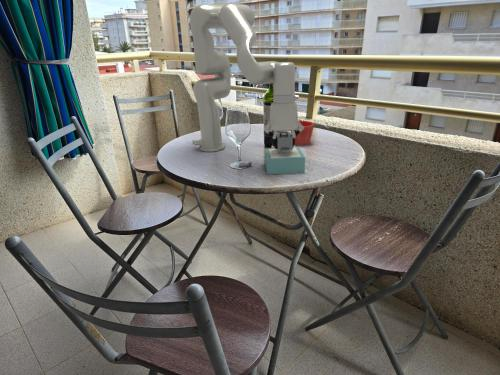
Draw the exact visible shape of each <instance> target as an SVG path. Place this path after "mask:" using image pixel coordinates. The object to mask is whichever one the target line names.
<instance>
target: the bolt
mask: <svg viewBox="0 0 500 375" xmlns="http://www.w3.org/2000/svg"><path fill="white" fill-rule="evenodd" d="M238 162H239V161H238ZM252 163H253V162H252V161H242V162H239V163H238V165H239V168H247V167H248V168H250V167H251V168H252V166H253V164H252Z"/></svg>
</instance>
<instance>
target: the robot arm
mask: <svg viewBox="0 0 500 375" xmlns="http://www.w3.org/2000/svg"><path fill="white" fill-rule="evenodd" d="M255 18H256V15H255V13H254V10H253V9H252V8H251V7H250V6H249V5H247V4H243V3H242V4H241V3H226V4H213V3H202V4H197V5H196V6H194V7H193V9H191V11H190V16H189V27H190V28H189V29H190V31H191V34H192V39H193V40H192V41H193V54H194V64H195V65H194V66H195V71H196V72H197V74H198V75H201V76H213V75H214V76H213V77H207V78H200V79H198V80H197V81H195V83H194V85H193V95H194V97H195V100H196V105H197V111H198V119H199V120H198V121H199V130H200V137H201V138H200V139H196V140H193V139H192V145H194V146H198V149H199V151H201V152H206V153H208V152H209V153H210V152H211V153H212V152H213V153H214V152H219V151H223V150H224V149H225V148H226V144H225V143H224V142H223V141H222V140H223V139H222V138H223V137H222V127H221V117H220V116H221V114H220V108H219V106H218V104H217V102H216V100H220V99H224V98H225V99H226V98H227V97H228V96H229V95H230V93H231V88H232V86H231V84H232V82H231V80H232V79H231V78H232V77H231V62H230V58H229V57H228V56H229V55H227V53H226V52H224V51H222V50H215V40H214V37H213V34H212V33H211V31H210V30H211V29H212V30H213V29H216V30H217V29H220V30H221V29H224V30H225V32H226V33H227V35H228V36H229V38H230V40H232V42H233V44H234V46H236V62H237V66H238V68H239V70H240V72H241V73H242V74H243V76H244V78H245V79H246V81H248V83H250V84H251V85H252V86H253V85H254V86H260V85H266V84H272V87H273V89H272V91H273V95H272V96H273V99H272V100H273V102H271V104H270V109H269V110H270V111H269V122H268V123H267V124H266V125H265V127H264V128H263V132H265V133H266V134H268V136H269V137H270V138H272V144H273V147H275V149H277V137H276V136H277V133H278V132H280V131H288V132H290V133H291V135H292V137H293V147H294V146H296V145H295V138H296V136H297V135H298V134H299V133H300V132H301V131H302V130H303V129H304V127H303V126H302V124H301V123H300V122H299V121H300V120H299V117H298V116H299V115H298V113H299V112H298V106H297V101H296V100H299V99H300V96H299V95H297V94H296V93H295V92H296V91H295V90H296V86H295V85H296V66H295V63H294V62H292V61H282V62H280V61H274V60H269V61H257V60H256V59H255V58H254V56H253V54H252V52H251V50H250V49H251V48H252V47H253V46H254V45H255V43H256V41H257V37H258V35H257V32H256V31H255V30H254V28H253V26H254V24H255V20H256V19H255ZM298 126H299V128H298ZM297 128H298V129H297ZM296 129H297V130H296ZM294 130H296V131H295V132H294Z"/></svg>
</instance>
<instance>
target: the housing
mask: <svg viewBox="0 0 500 375" xmlns="http://www.w3.org/2000/svg"><path fill="white" fill-rule="evenodd" d="M276 137H277V150H278V151H281V152H290V150H293V147H294V146H293V137H292V135H291V132H290V131H278V133H277V136H276Z"/></svg>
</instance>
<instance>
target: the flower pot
mask: <svg viewBox="0 0 500 375" xmlns="http://www.w3.org/2000/svg"><path fill="white" fill-rule="evenodd" d="M298 121H299V122H300V123H301V124H302V126H303V127H304V129H303V130H302V131H301V132H300V133H299V134H298V135H297V136H296V138H295V144H296V145H295V146H300V145H303V146H307V145H310V143H311V138H312V135H313V131H314V126H315V124H314V122H312V121H307V120H298ZM298 128H299V126H298ZM298 128H297V129H298ZM297 129H296V130H297ZM296 130H294V132H295V131H296Z"/></svg>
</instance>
